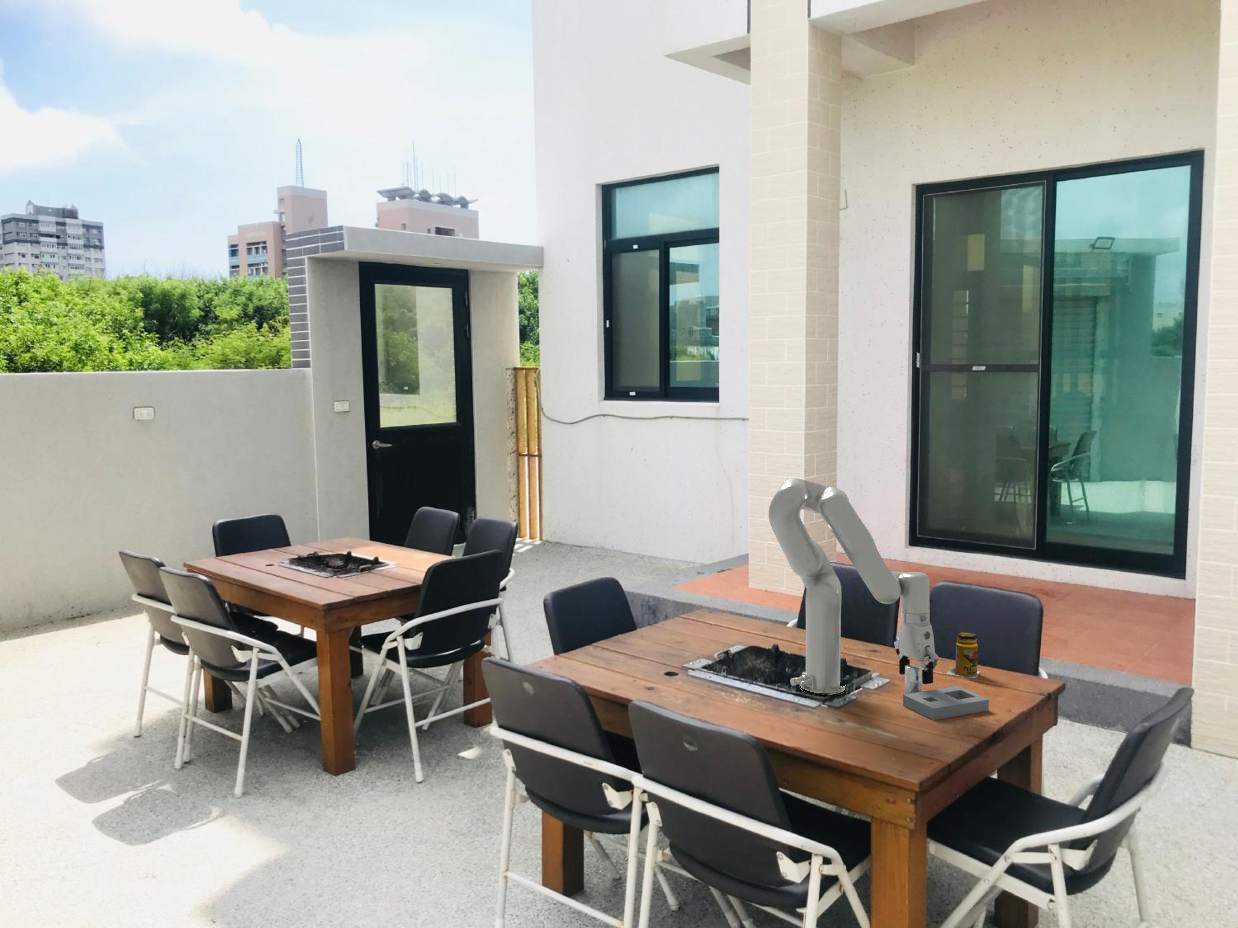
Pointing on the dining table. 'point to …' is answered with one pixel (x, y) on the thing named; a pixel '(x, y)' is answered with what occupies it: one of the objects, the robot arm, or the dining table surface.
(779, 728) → the dining table surface
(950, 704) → the grey hole board
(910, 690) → the cylinder
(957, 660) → the condiment
